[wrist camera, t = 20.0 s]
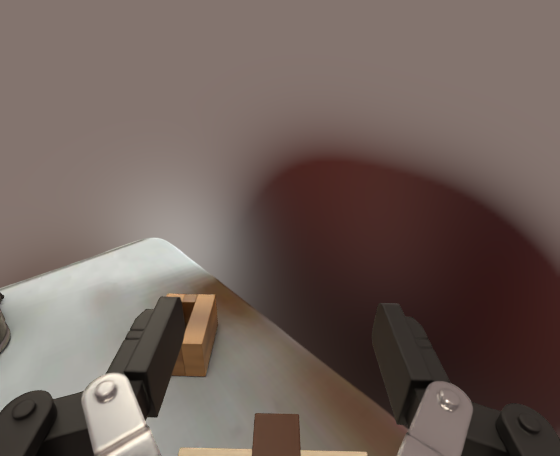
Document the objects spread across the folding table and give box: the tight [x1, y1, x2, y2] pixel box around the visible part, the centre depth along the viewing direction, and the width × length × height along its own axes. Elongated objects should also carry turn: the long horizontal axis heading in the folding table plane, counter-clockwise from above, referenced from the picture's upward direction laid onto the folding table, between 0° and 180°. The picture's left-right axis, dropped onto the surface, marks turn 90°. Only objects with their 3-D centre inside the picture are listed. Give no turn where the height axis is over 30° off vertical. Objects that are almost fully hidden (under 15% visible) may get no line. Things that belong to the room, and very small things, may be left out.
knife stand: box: [166, 294, 218, 376], centre depth 39 cm, size 8×6×5 cm
